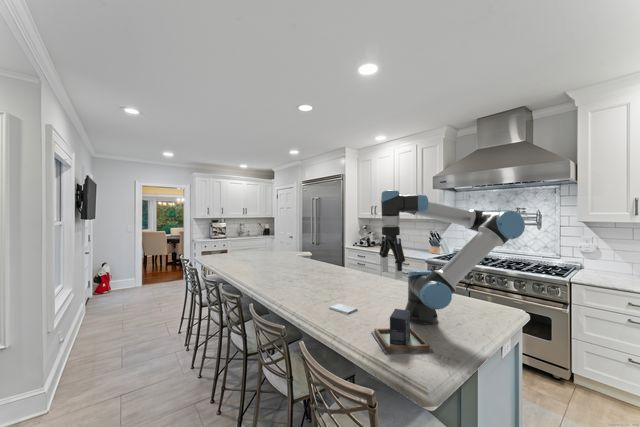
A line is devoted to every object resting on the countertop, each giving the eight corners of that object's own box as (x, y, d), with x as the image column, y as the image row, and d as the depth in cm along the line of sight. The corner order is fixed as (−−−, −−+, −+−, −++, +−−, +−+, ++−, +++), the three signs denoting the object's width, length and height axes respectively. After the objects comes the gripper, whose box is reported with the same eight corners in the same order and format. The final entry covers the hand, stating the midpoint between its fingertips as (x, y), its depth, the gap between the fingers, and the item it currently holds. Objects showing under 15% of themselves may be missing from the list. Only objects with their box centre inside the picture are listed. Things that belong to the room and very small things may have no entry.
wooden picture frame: (412, 331, 119) (412, 326, 119) (433, 352, 101) (433, 346, 101) (371, 332, 117) (371, 327, 117) (385, 354, 99) (385, 348, 99)
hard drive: (357, 308, 144) (339, 302, 152) (348, 312, 138) (329, 306, 146) (357, 311, 144) (339, 305, 152) (348, 315, 138) (329, 309, 146)
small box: (394, 333, 115) (394, 307, 115) (410, 336, 112) (410, 310, 112) (388, 343, 106) (389, 316, 106) (406, 347, 103) (406, 319, 103)
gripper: (371, 225, 132) (372, 269, 132) (395, 227, 107) (396, 282, 107) (386, 224, 133) (387, 268, 133) (413, 227, 109) (414, 281, 109)
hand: (391, 275), depth 120 cm, fingers open, 13 cm apart
